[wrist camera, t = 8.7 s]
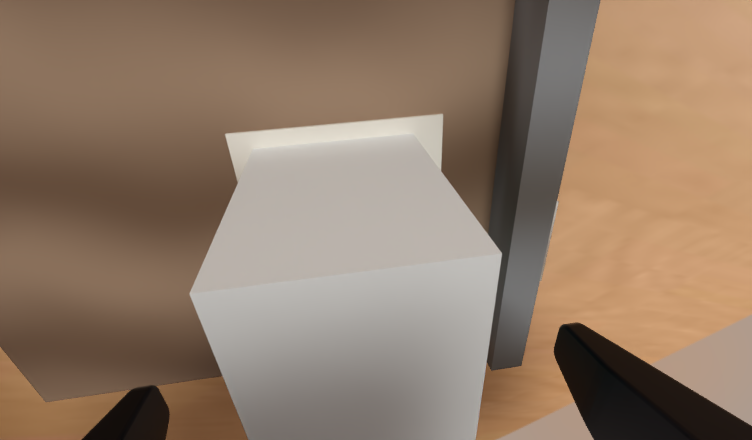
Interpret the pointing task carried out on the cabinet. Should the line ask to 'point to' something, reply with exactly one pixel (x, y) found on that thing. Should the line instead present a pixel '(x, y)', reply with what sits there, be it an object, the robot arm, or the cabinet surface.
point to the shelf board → (234, 145)
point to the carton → (350, 295)
